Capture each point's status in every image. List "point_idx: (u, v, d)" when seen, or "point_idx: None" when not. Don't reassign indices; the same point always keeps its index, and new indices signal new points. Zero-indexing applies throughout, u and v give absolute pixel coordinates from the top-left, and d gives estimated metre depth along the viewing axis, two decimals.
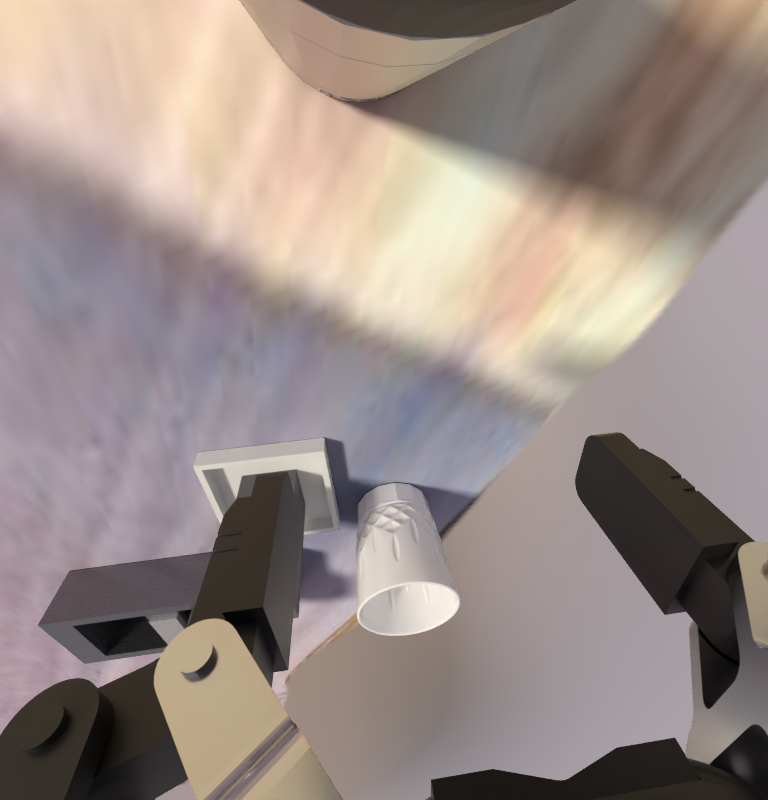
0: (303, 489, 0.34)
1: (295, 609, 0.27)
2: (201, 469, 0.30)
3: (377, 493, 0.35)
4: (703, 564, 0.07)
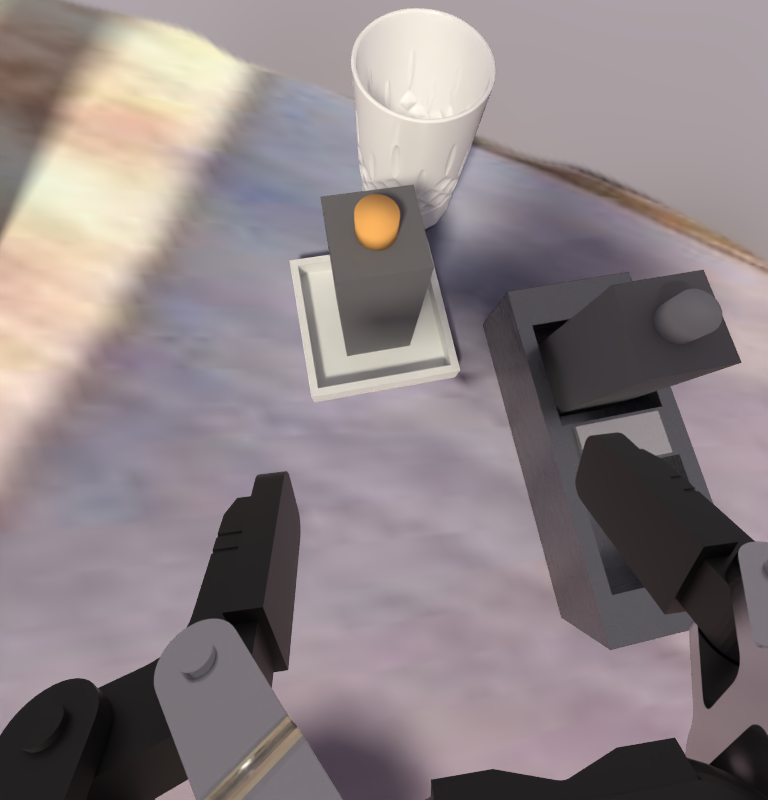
0: None
1: (393, 188, 0.19)
2: (316, 388, 0.25)
3: None
4: (703, 564, 0.07)
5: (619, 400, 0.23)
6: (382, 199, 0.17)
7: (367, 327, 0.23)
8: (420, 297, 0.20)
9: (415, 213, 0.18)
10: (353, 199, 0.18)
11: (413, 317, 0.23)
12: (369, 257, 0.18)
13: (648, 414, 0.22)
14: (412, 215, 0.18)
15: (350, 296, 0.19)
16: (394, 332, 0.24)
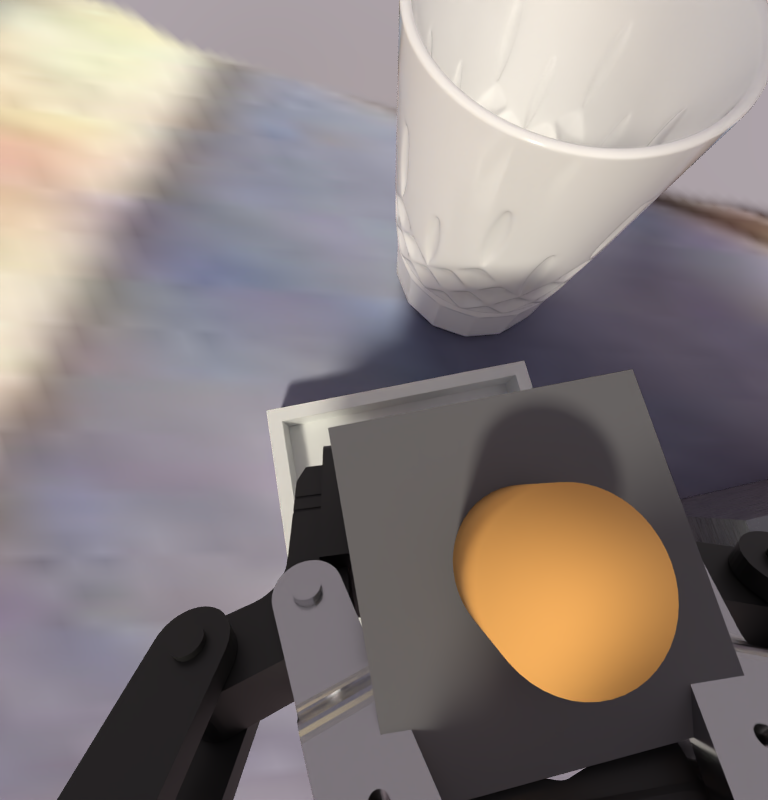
0: None
1: (566, 384, 0.06)
2: None
3: (412, 296, 0.16)
4: None
5: None
6: (591, 507, 0.04)
7: None
8: None
9: (655, 480, 0.05)
10: (440, 434, 0.05)
11: None
12: (514, 684, 0.05)
13: None
14: (646, 489, 0.05)
15: None
16: None
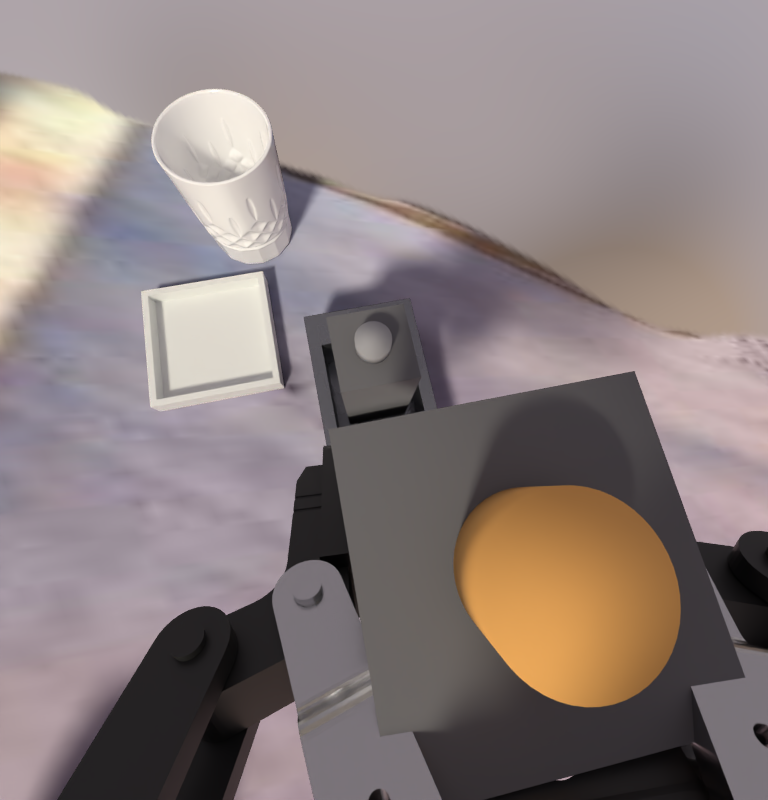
0: (215, 314, 0.33)
1: (568, 386, 0.06)
2: (155, 399, 0.30)
3: (218, 243, 0.34)
4: None
5: (392, 406, 0.28)
6: (592, 510, 0.04)
7: None
8: None
9: (657, 483, 0.05)
10: (441, 436, 0.05)
11: None
12: (515, 688, 0.05)
13: None
14: (648, 492, 0.05)
15: None
16: None
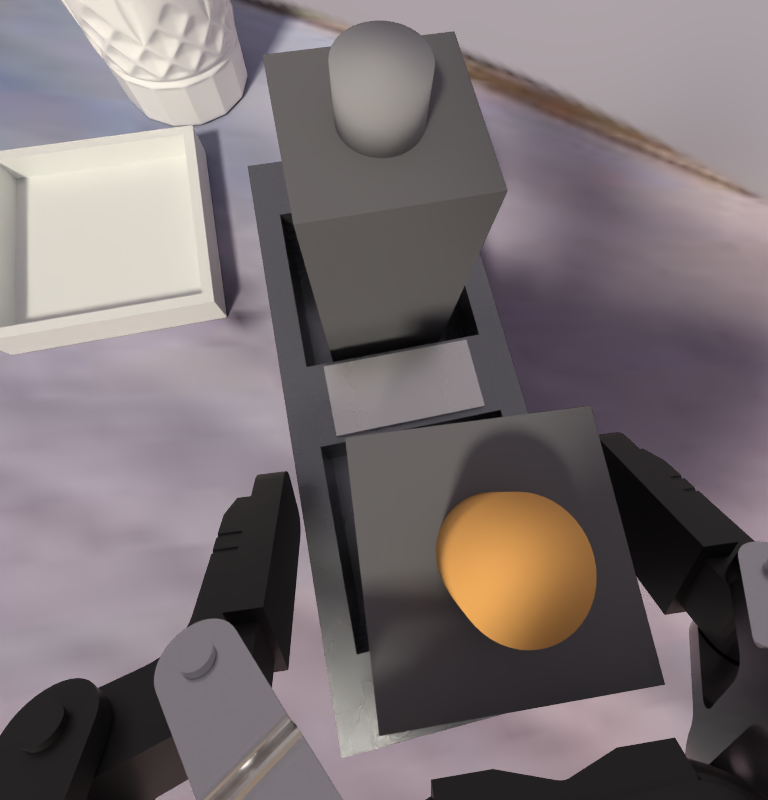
0: (115, 199, 0.20)
1: (536, 414, 0.07)
2: None
3: (125, 89, 0.21)
4: (703, 564, 0.07)
5: (415, 328, 0.14)
6: (538, 511, 0.05)
7: None
8: None
9: (600, 495, 0.07)
10: (432, 448, 0.07)
11: None
12: (476, 644, 0.06)
13: (449, 345, 0.13)
14: (592, 502, 0.07)
15: None
16: None
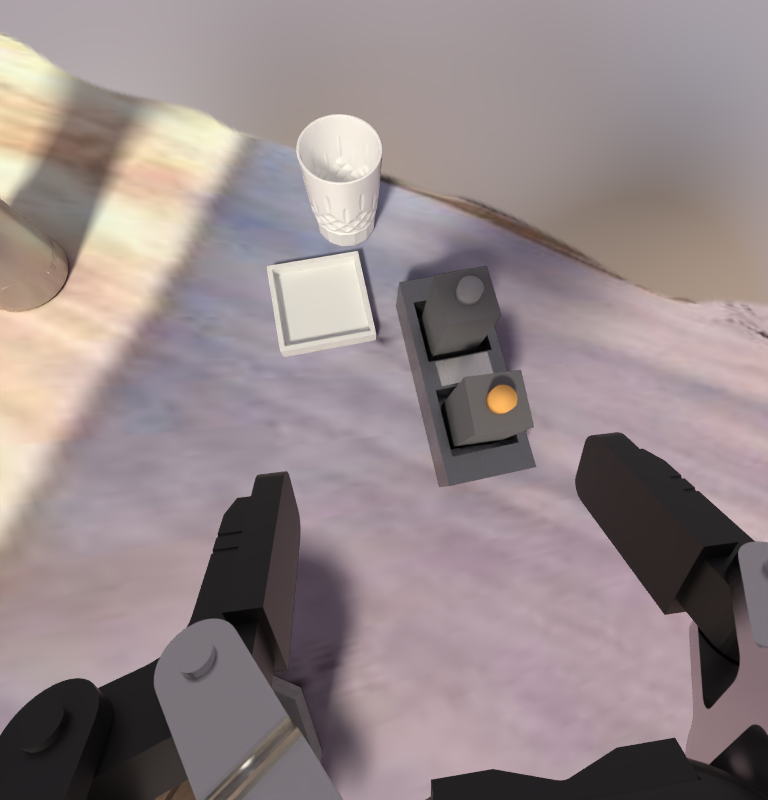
0: (320, 284, 0.43)
1: (508, 372, 0.30)
2: (283, 346, 0.40)
3: (320, 230, 0.44)
4: (703, 564, 0.07)
5: (467, 347, 0.37)
6: (506, 388, 0.28)
7: (474, 441, 0.34)
8: (517, 432, 0.32)
9: (522, 389, 0.30)
10: (484, 379, 0.30)
11: (506, 437, 0.34)
12: (494, 418, 0.29)
13: (481, 354, 0.36)
14: (520, 391, 0.30)
15: (477, 436, 0.30)
16: (488, 441, 0.36)
